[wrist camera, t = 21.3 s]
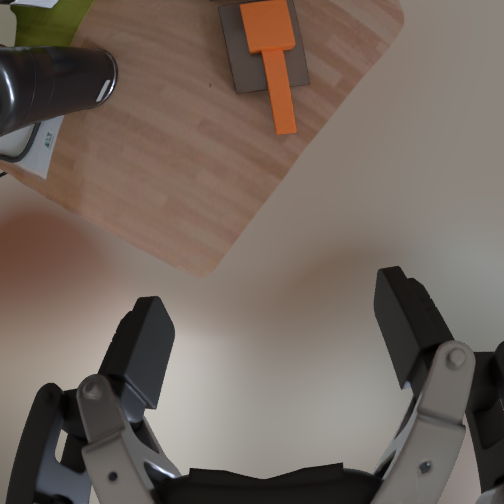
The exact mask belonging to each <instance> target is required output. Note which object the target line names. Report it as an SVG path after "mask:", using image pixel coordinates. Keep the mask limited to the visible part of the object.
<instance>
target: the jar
mask: <svg viewBox="0 0 504 504" xmlns="http://www.w3.org/2000/svg"><path fill="white" fill-rule="evenodd" d="M58 1H59V0H0V4H4V5H18V6H28V7H36V8H52V7H53V6H54V5H55V4H56V3H57V2H58Z"/></svg>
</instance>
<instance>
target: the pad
mask: <svg viewBox="0 0 504 504" xmlns="http://www.w3.org/2000/svg"><path fill="white" fill-rule="evenodd" d="M261 1H270V0H257V1H250V2H243V3H237V4H232V5H226V6H221V7H218V9H219V13H220V18H221V22H222V27H223V32H224V36H225V41H226V46H227V51H228V55H229V60H230V65H231V70H232V75H233V80H234V85H235V89H236V94H241V93H247V92H253V91H259V90H266V89H268V86H267V81H266V75H265V70H264V65H263V60H262V55H261V53H257V54H250V51H249V47H248V42H247V37H246V33H245V28H244V23H243V19H242V14H241V9H240V4H246V3H253V2H261ZM286 2H287V6H288V11H289V15H290V19H291V24H292V29H293V33H294V38H295V43H296V45H295V46H294V47H293V48H292V49H291V50H283V53H284V58H285V63H286V69H287V74H288V80H289V86H300V85H310V83H309V77H308V71H307V65H306V60H305V54H304V49H303V44H302V39H301V34H300V30H299V25H298V20H297V16H296V12H295V7H294V3H293V0H286Z"/></svg>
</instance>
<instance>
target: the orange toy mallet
mask: <svg viewBox="0 0 504 504" xmlns="http://www.w3.org/2000/svg"><path fill="white" fill-rule="evenodd" d="M240 9H241V14H242V19H243V23H244V28H245V33H246V37H247V42H248V47H249V51H250V54H257V53H261V55H262V60H263V65H264V70H265V75H266V81H267V86H268V92H269V97H270V103H271V109H272V114H273V120H274V126H275V132H276V134H277V135H279V134H287V133H295V132H297V130H296V124H295V117H294V110H293V104H292V98H291V91H290V86H289V80H288V74H287V69H286V63H285V58H284V53H283V50H291V49H292V48H293V47H294V46H295V45H296V43H295V38H294V33H293V29H292V24H291V19H290V15H289V11H288V6H287V2H286V0H270V1H261V2H253V3H246V4H240Z"/></svg>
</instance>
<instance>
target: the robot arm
mask: <svg viewBox="0 0 504 504" xmlns="http://www.w3.org/2000/svg"><path fill="white" fill-rule="evenodd" d="M117 76H118V70H117V64H116V61H115V59H114V58H113V56H112V55H111V54H110V53H108V52H107V51H104V50H101V49H87V48H75V47H59V46H19V47H0V137H1V136H3V135H6V134H8V133H11V132H13V131H16V130H19V129H21V128H24V127H27V126H29V125H32V124H35V126H34V128H33V131H32V134H31V137H30V139H29V141H28V143H27V145H26V147H25V149H24V150H23V152H22V153H21V154H20V155H19V156H18V157H15V158H12V157H8V156H5V155H0V159H1V160H4V161H7V162H12V163H14V162H18V161H20V160H21V159H22V158H23V157H24V156H25V155H26V154H27V152H28V151H29V149H30V147H31V145H32V143H33V141H34V139H35V136H36V133H37V131H38V128H39V126H40V123H41V121H45V120H48V119H52V118H55V117H57V116H61V115H65V114H68V113H72V112H76V111H80V110H85V109H91V108H95V107H97V106H99V105H101V104H102V103H104V102H105V101H106V100H107V99H108V98H109V96H110V95H111V93H112V92H113V90H114V88H115V85H116V82H117ZM6 174H8V173H6V172H2V173H0V177H2V176H4V175H6ZM374 312H375V316H376V319H377V322H378V324H379V327H380V330H381V332H382V335H383V337H384V340H385V343H386V346H387V349H388V352H389V354H390V357H391V360H392V363H393V366H394V369H395V372H396V375H397V378H398V381H399V385H400V388H401V390H402V389H405V388H409V387H411V388H412V391H413V396H412V398H411V400H410V402H409V405H408V407H407V410H406V412H405V414H404V416H403V419H402V421H401V423H400V425H399V427H398V429H397V431H396V433H395V436H394V437H393V439H392V441H391V443H390V445H389V446H388V448H387V449H386V451H385V452H384V454H383V456H382V457H381V459H380V461H379V462H378V464H377V466H376V467H375V469H374V471H373V472H372V474H370V473H367V472H364V471H360V470H355V469H347V468H343V463H337V464H330V465H324V466H316V467H308V468H302V469H299V470H296V471H293V472H290V473H286V474H283V475H280V476H276V477H272V478H268V479H258V478H253V477H249V476H244V475H240V474H236V473H233V472H229V471H225V470H207V469H196V468H190V471H189V474H188V475H184V476H182V475H181V474H180V472H179V470H178V469H177V468H176V467H175V466H174V464H173V463H172V462H171V461H170V460H169V459H168V458H167V457H166V455H165V454H164V452H163V450H162V448H161V446H160V444H159V443H158V441H157V439H156V437H155V435H154V433H153V431H152V429H151V428H150V425H149V423H148V421H147V420H146V418H145V416H144V411H145V408H146V409H156V408H157V404H158V400H159V396H160V392H161V387H162V384H163V380H164V376H165V371H166V368H167V364H168V361H169V357H170V353H171V350H172V346H173V342H174V338H175V329H174V325H173V322H172V321H171V319H170V317H169V315H168V313H167V311H166V309H165V307H164V305H163V303H162V301H161V299H160V298H159V297H158V296H151V297H140V298H138V299H137V301H136V303H135V306H134V308H133V310H132V311H129V312H128V313H127V314H126V315H125V317H124V318H123V319H122V320H121V321H120V323H119V325H118V328H117V330H116V333H115V334H114V336H113V339H112V342H111V343H110V345H109V348H108V350H107V352H106V355H105V357H104V359H103V362H102V364H101V366H100V369H99V371H98V373H97V374H93V375H90V376H88V377H86V378H85V379H84V380H83V381H82V382H81V384H80V385H79V387H78V388H77V389H72V390H66V391H62V389H61V388H60V387H58V386H57V385H56V384H55V383H47V384H45V385H44V386H42V387H41V388H40V389H39V391H38V392H37V394H36V397H35V399H34V402H33V404H32V407H31V410H30V413H29V416H28V418H27V421H26V424H25V427H24V430H23V433H22V436H21V440H20V443H19V446H18V450H17V453H16V457H15V461H14V464H13V469H12V473H11V477H10V482H9V487H8V492H7V498H6V504H89V498H90V492H91V485H93V488H94V490H95V493H96V495H97V498H98V500H99V503H100V504H437V502H438V500H439V498H440V496H441V494H442V492H443V490H444V488H445V486H446V483H447V481H448V479H449V477H450V474H451V472H452V470H453V467H454V465H455V462H456V459H457V457H458V454H459V451H460V448H461V446H462V443H463V440H464V436H465V432H466V427H465V425H463V424H462V420H463V416H464V413H465V414H466V418H467V422H468V425H469V429H470V433H471V437H472V441H473V445H474V451H475V455H476V461H477V466H478V472H479V479H480V486H481V494H482V495H481V496H480V497H479V498H478V500H477V502H476V503H475V504H504V410H503V408H504V341H503V342H501V343H500V344H499V346H498V347H497V349H496V350H495V352H473V351H472V350H471V349H470V347H469V346H468V345H466V344H465V343H463V342H460V341H455V340H454V338H453V336H452V334H451V333H450V331H449V328H448V327H447V325H446V323H445V321H444V320H443V318H442V316H441V314H440V312H439V311H438V309H437V307H435V304H434V302H433V300H432V299H430V295H429V294H428V292H427V291H426V289H425V287H424V286H423V285H422V284H421V283H419V282H418V281H417V280H416V279H414V278H408V279H407V277H406V276H405V274H404V272H403V271H402V269H401V268H400V267H399V266H394V267H388V268H382V269H379V270H378V273H377V280H376V288H375V296H374ZM500 400H501V401H500ZM501 402H502V404H501ZM502 405H503V407H502ZM61 429H62V430H64V431H65V432H66V433H68V435H67V439H66V443H65V447H64V451H63V455H62V459H61V462H60V463H59V462H58V461H57V460H56V458H55V449H56V445H57V442H58V438H59V435H60V431H61Z"/></svg>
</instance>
